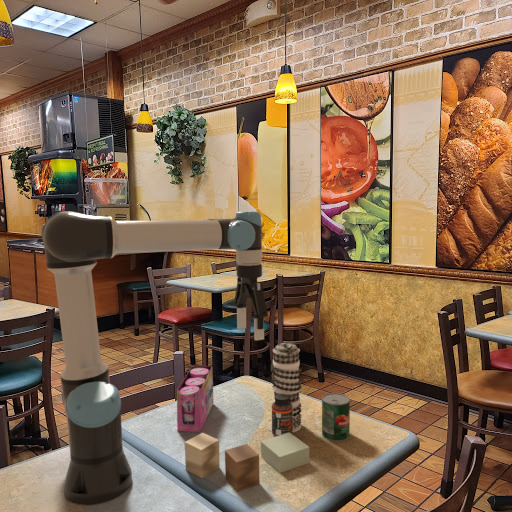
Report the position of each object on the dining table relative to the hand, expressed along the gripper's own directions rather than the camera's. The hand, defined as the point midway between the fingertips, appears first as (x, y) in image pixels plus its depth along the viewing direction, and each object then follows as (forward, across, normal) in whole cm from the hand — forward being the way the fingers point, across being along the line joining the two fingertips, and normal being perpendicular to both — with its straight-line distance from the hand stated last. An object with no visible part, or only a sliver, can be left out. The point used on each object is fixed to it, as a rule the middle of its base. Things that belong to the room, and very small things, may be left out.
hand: (250, 333), depth 139 cm
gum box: (+28, +11, +14) cm, 33 cm away
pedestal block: (+28, -24, +1) cm, 37 cm away
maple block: (+28, -19, +21) cm, 40 cm away
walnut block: (+28, -29, +14) cm, 42 cm away
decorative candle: (+28, -7, -8) cm, 30 cm away
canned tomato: (+28, -18, -19) cm, 38 cm away
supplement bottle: (+27, -12, -5) cm, 30 cm away
